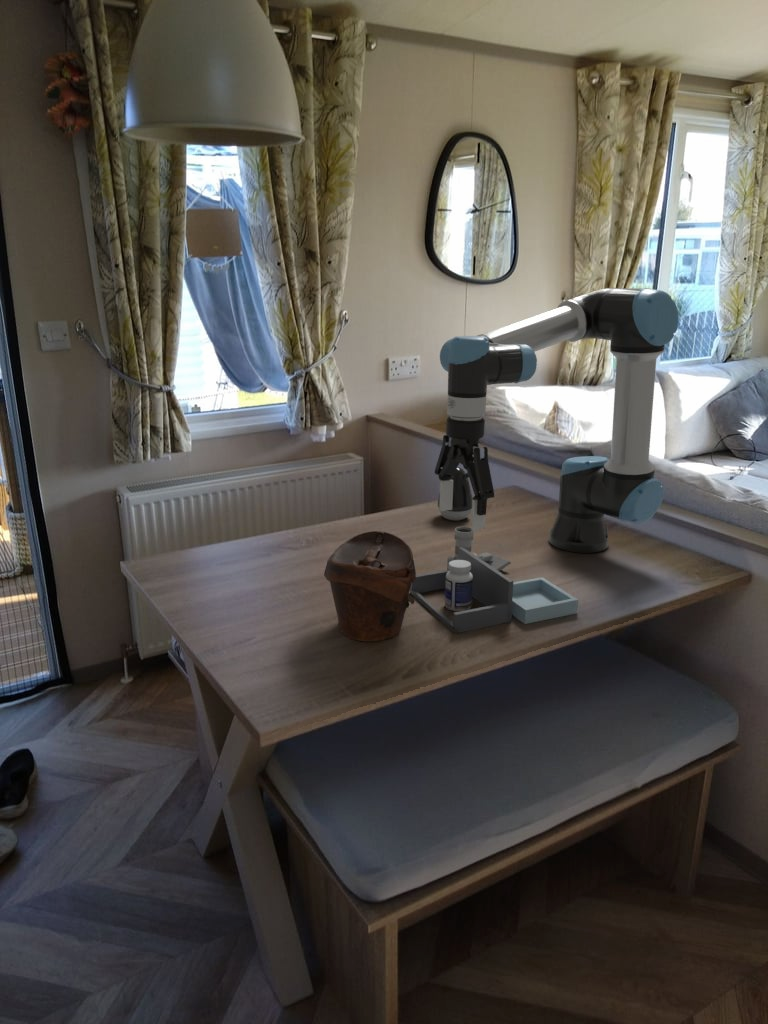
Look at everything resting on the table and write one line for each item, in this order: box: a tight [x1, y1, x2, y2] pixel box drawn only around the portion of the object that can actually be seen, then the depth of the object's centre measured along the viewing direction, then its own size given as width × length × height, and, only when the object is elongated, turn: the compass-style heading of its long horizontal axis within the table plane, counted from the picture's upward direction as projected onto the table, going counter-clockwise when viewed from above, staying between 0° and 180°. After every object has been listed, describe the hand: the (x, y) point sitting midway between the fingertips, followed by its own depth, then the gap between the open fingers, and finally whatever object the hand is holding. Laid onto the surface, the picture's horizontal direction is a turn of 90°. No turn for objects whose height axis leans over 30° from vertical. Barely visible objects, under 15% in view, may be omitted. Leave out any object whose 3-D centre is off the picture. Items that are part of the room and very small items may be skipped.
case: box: [323, 530, 417, 643], centre depth 147 cm, size 18×20×18 cm
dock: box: [409, 547, 515, 634], centre depth 158 cm, size 21×13×9 cm, turn 23°
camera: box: [446, 526, 512, 572], centre depth 176 cm, size 9×12×15 cm
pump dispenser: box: [436, 466, 474, 522], centre depth 214 cm, size 10×10×15 cm
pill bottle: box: [444, 560, 473, 612], centre depth 158 cm, size 6×6×10 cm
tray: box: [511, 576, 579, 625], centre depth 160 cm, size 13×13×3 cm
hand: (461, 519), depth 154 cm, fingers open, 13 cm apart
